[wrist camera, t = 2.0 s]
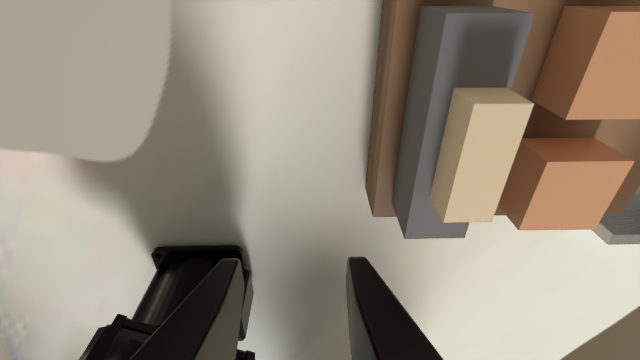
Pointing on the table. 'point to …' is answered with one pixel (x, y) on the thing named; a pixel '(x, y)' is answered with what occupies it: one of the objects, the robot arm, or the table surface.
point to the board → (547, 4)
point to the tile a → (562, 183)
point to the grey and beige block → (460, 118)
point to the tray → (621, 224)
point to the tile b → (593, 64)
